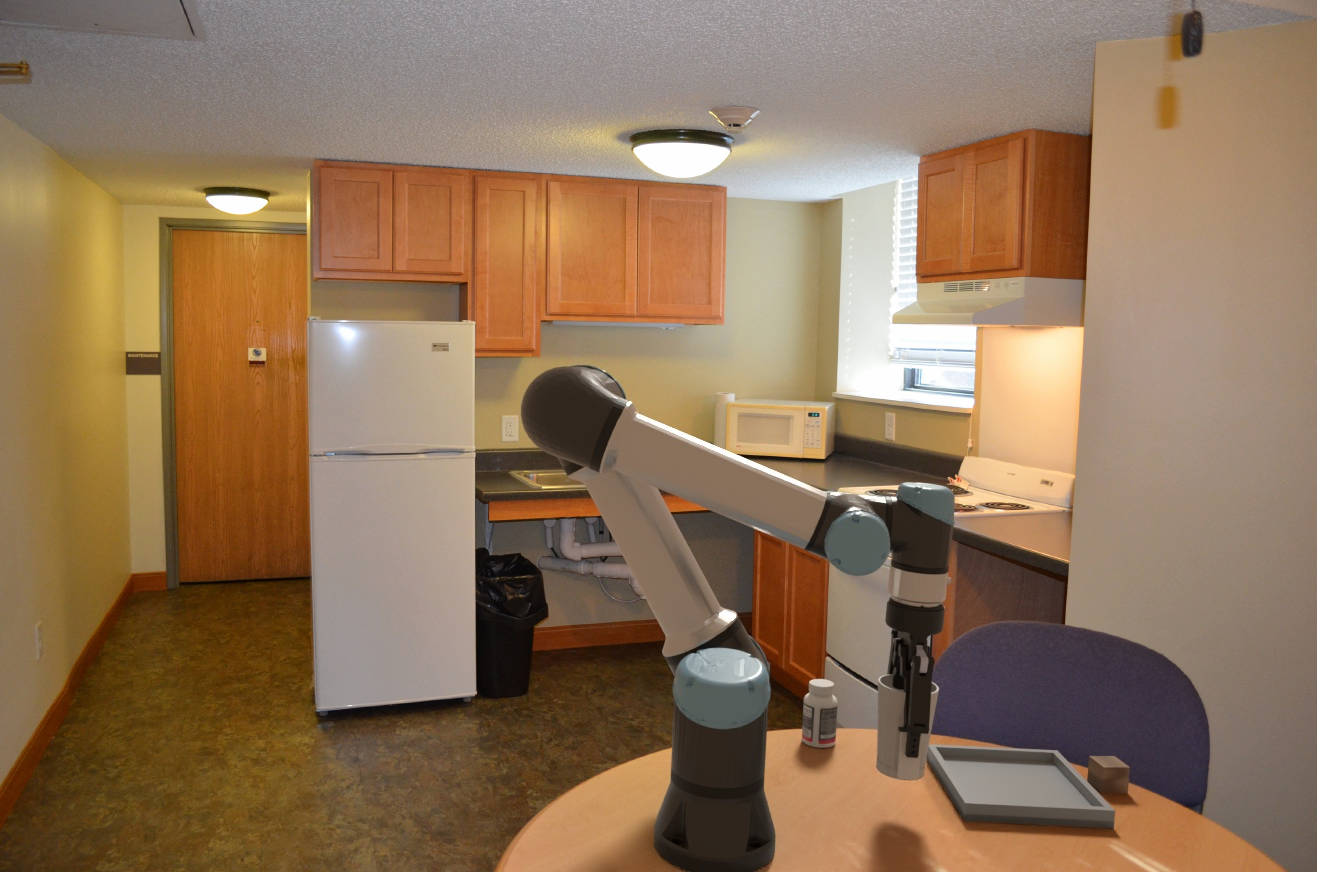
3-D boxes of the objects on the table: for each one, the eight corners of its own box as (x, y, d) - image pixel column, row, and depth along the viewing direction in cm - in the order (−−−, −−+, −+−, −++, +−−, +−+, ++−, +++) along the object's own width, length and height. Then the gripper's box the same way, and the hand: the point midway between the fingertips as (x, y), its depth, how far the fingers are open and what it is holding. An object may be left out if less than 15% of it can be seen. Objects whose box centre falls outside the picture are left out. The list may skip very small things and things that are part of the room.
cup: (932, 787, 126) (941, 697, 125) (870, 777, 128) (878, 689, 127) (928, 762, 134) (936, 678, 133) (869, 753, 136) (877, 670, 135)
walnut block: (1101, 793, 141) (1103, 767, 141) (1087, 781, 145) (1089, 755, 145) (1127, 793, 141) (1129, 767, 141) (1112, 781, 145) (1114, 755, 145)
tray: (964, 820, 130) (965, 802, 130) (926, 759, 150) (927, 743, 150) (1113, 828, 130) (1115, 810, 130) (1056, 765, 150) (1057, 750, 150)
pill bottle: (836, 738, 157) (840, 679, 157) (834, 750, 152) (837, 690, 152) (803, 733, 159) (806, 675, 158) (799, 745, 154) (802, 685, 153)
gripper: (967, 622, 119) (948, 801, 121) (925, 583, 139) (910, 737, 141) (905, 617, 119) (888, 796, 121) (873, 579, 139) (858, 733, 141)
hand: (900, 764), depth 131 cm, fingers closed on cup, 7 cm apart
